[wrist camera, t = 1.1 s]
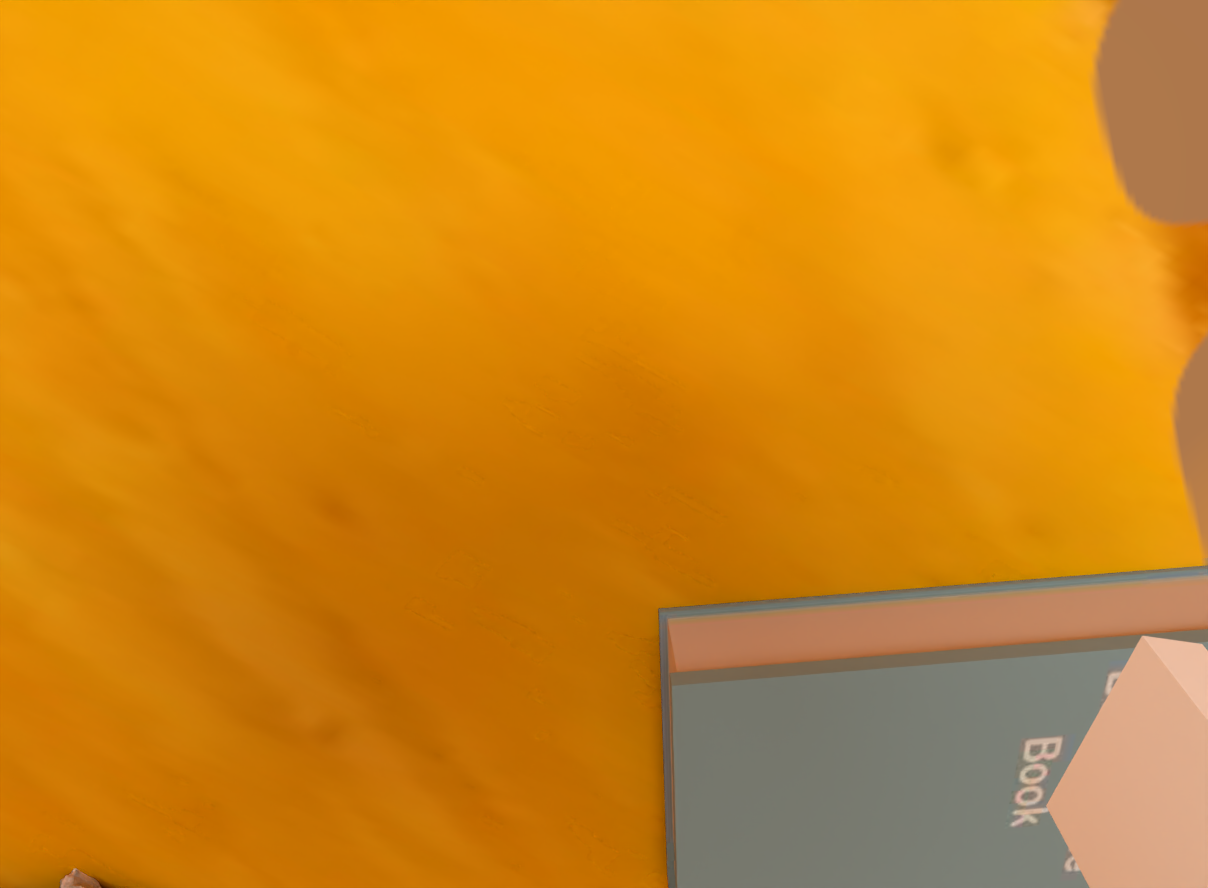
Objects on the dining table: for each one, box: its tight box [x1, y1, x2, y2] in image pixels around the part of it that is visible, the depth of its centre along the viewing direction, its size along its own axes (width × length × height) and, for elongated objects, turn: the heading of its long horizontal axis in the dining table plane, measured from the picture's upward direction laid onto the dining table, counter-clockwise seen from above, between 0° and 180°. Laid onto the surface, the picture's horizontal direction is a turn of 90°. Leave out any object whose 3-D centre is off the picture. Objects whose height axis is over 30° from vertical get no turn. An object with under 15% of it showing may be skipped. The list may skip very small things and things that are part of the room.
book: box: [659, 558, 1208, 888], centre depth 45 cm, size 23×16×5 cm
